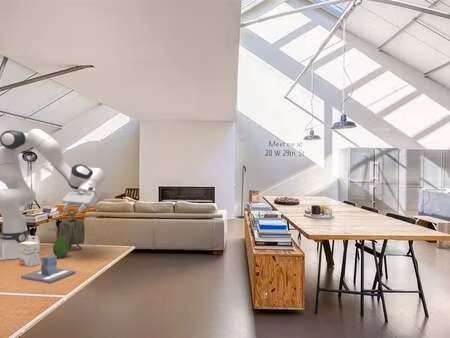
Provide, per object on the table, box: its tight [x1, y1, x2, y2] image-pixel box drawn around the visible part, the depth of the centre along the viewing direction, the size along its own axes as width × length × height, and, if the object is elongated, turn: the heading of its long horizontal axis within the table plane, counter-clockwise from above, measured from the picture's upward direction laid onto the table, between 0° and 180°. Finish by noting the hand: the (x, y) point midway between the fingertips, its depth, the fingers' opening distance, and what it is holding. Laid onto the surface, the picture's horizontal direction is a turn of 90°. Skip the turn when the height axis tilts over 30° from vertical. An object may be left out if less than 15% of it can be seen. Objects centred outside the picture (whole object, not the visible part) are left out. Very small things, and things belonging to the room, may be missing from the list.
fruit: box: [52, 236, 70, 259], centre depth 176 cm, size 8×8×12 cm
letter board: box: [20, 268, 77, 284], centre depth 146 cm, size 18×14×1 cm
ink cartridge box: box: [19, 234, 40, 268], centre depth 162 cm, size 9×5×15 cm, turn 71°
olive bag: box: [58, 208, 86, 250], centre depth 193 cm, size 14×9×25 cm, turn 58°
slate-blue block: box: [40, 254, 58, 276], centre depth 146 cm, size 4×4×8 cm
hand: (71, 210), depth 167 cm, fingers open, 8 cm apart
